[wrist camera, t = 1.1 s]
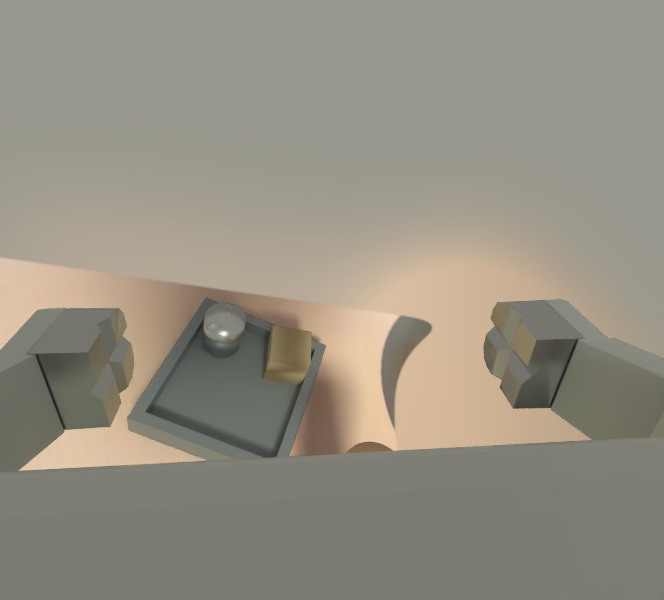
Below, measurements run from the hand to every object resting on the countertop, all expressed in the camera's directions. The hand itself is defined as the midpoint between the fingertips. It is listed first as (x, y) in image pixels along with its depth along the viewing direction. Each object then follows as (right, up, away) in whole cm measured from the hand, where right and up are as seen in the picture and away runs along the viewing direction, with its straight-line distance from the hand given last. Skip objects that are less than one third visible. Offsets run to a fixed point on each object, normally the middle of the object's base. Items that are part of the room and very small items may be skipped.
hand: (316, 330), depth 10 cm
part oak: (-5, -6, +37) cm, 37 cm away
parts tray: (-9, -8, +34) cm, 37 cm away
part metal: (-11, -4, +36) cm, 38 cm away
